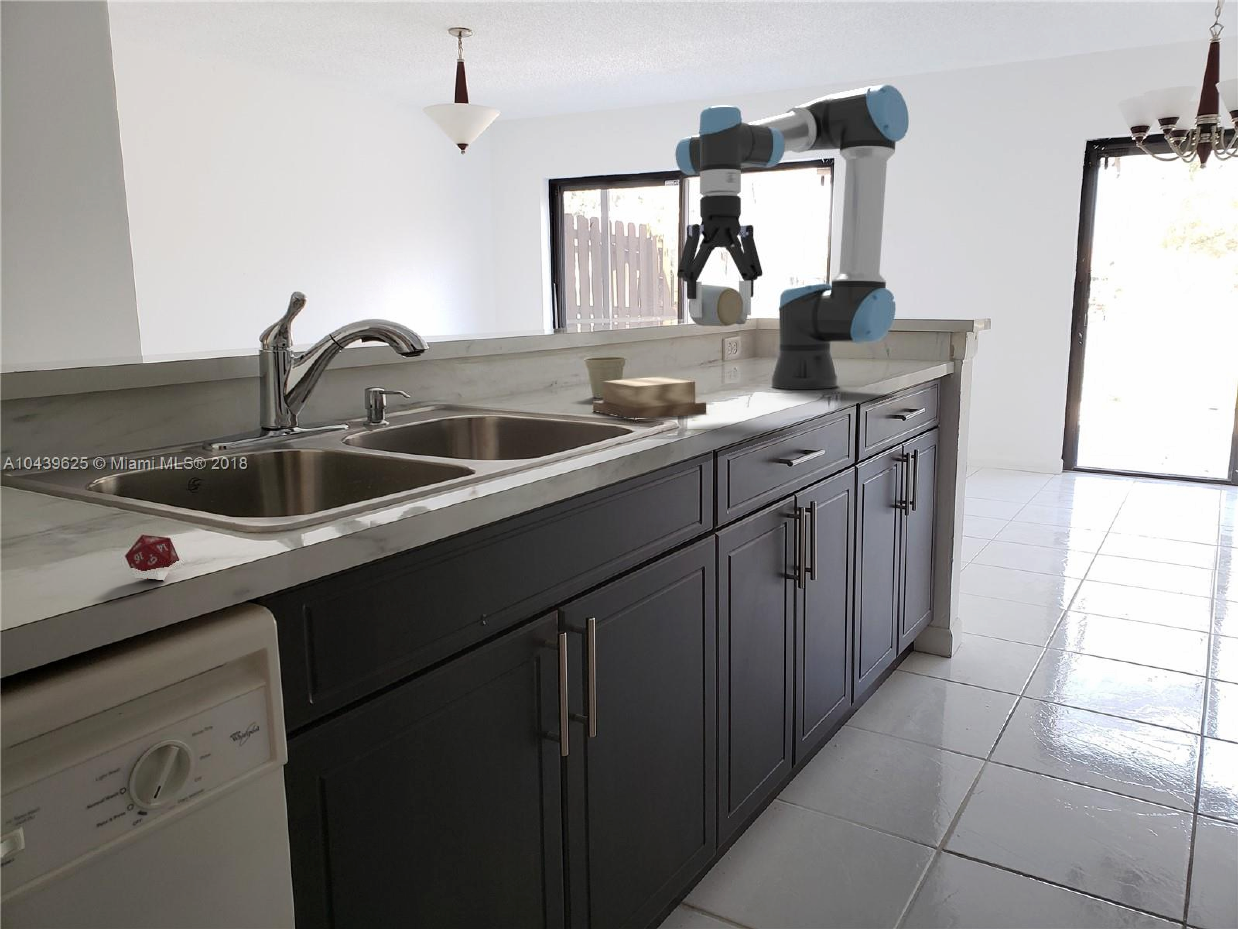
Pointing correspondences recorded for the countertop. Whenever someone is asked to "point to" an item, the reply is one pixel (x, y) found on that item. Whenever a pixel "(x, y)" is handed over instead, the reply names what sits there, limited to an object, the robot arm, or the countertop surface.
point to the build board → (650, 410)
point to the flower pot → (604, 372)
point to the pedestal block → (648, 392)
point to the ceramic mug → (720, 307)
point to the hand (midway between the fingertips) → (720, 316)
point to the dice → (151, 553)
